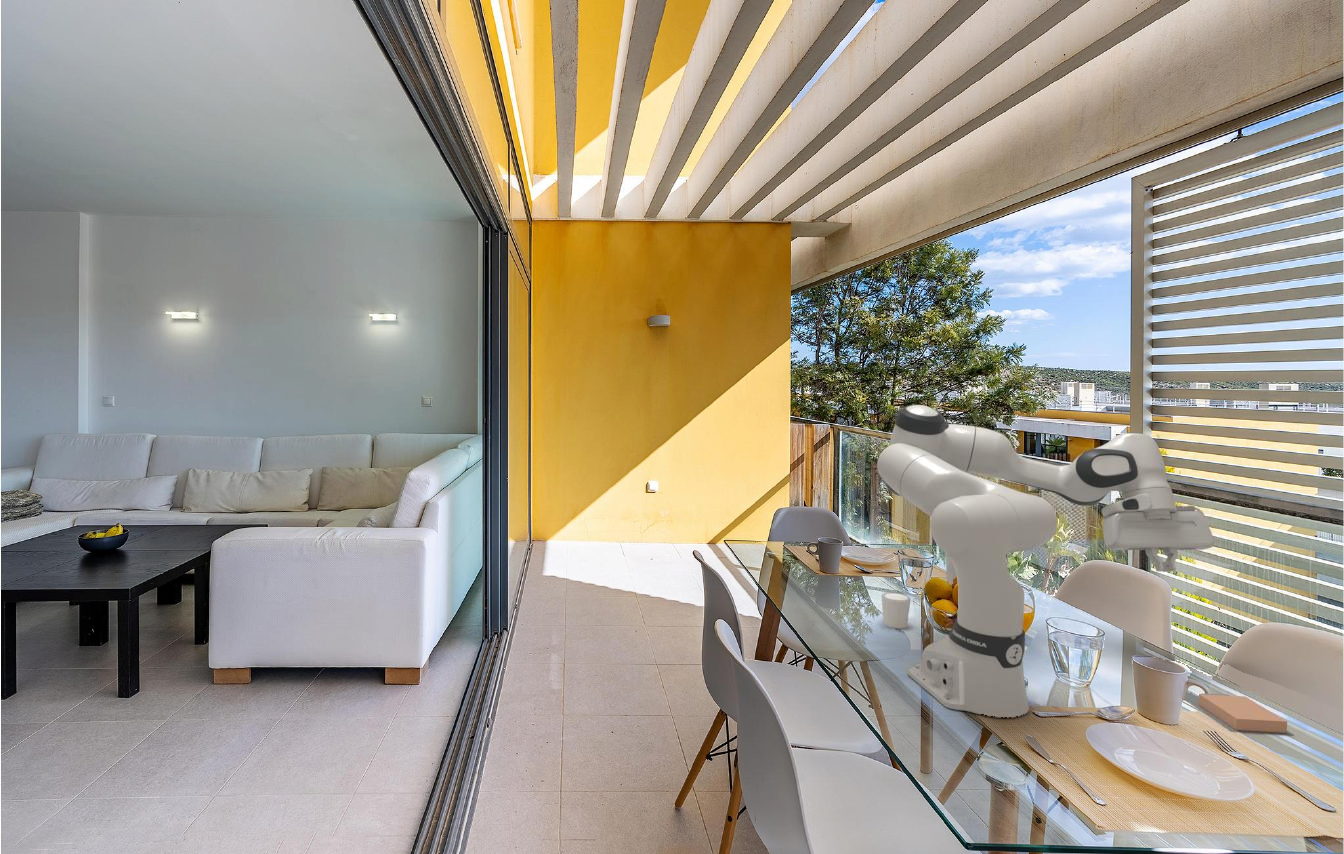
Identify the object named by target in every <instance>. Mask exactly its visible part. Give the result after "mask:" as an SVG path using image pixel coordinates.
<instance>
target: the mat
mask: <svg viewBox="0 0 1344 854" xmlns="http://www.w3.org/2000/svg"><path fill="white" fill-rule="evenodd" d="M1185 693H1186V696H1185V698H1184V699H1183V700H1184V701H1185V702H1186V703H1189V704H1190V705H1191V706H1193V707H1194V708H1195V709H1197V710H1199V711H1200V712H1201V713H1203V714H1205V715H1206V716H1207V717H1209V718H1210V719H1212V720H1213V721H1215V722H1216V723H1217V724H1219V725H1221V726H1222V727H1223V728H1225V729H1227V730H1228V731H1230V732H1231V733H1245V734H1246V733H1248V734H1262V735H1263V734H1264V735H1279V736H1280V735H1281V736H1294V734H1293V733H1292V732H1290V731H1288V730H1287V733H1277V732H1260V731H1242V730H1235V729H1234V728H1232V727H1231V726H1229V725H1228V724H1226V723H1225V722H1223V721H1222V720H1220V719H1219V718H1217V717H1216V716H1214V715H1213V714H1211V713H1210V712H1208V711H1207V710H1205V709H1204V708H1202V707H1201V706H1200V705H1198V701H1199V697H1198V696H1195V695H1193V694H1192V693H1193V692H1185ZM1205 694H1206V695H1223V694H1219V693H1205ZM1225 695H1226V696H1231V695H1230V694H1225Z"/></svg>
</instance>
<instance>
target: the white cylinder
mask: <svg viewBox="0 0 1344 854" xmlns="http://www.w3.org/2000/svg"><path fill="white" fill-rule="evenodd" d="M911 601H912V598H911V597H910V596H909V595H907V594H903V593H899V592H885V593H882V594H881V606H882V623H883V625H884V626H886V627H888V628H892V629H893V628H894V629H905V628H907V627H908V623H909V622H908V621H909V614H910V609H911V608H910V607H911Z"/></svg>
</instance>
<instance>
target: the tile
mask: <svg viewBox="0 0 1344 854" xmlns="http://www.w3.org/2000/svg"><path fill="white" fill-rule="evenodd" d="M1206 694H1207V693H1202V694H1199V701H1198V705H1200V706H1201V707H1202V708H1204V709H1205V710H1207V711H1208V712H1210V713H1211V714H1213V715H1214V716H1216V717H1217V718H1219V719H1220V720H1222V721H1223V722H1225V723H1226V724H1228V725H1229V726H1231V727H1232V728H1234V729H1235V730H1242V731H1260V732H1277V733H1287V731H1288V730H1287V729H1288V721H1287V720H1285V719H1284V718H1282V717H1280V716H1279V715H1277V714H1275V713H1274V712H1272V711H1270V709H1268V708H1265V707H1264V706H1262V705H1261V704H1258V703H1257V702H1256V701H1253V699H1251V698H1249V697H1247V696H1241V695H1230V696H1226V695H1227V694H1222V695H1206Z"/></svg>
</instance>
